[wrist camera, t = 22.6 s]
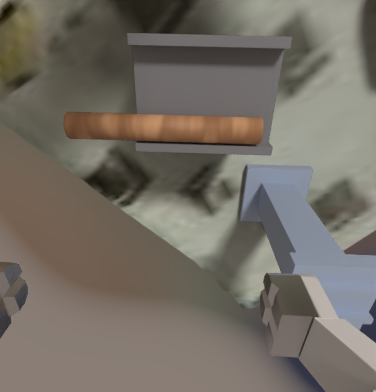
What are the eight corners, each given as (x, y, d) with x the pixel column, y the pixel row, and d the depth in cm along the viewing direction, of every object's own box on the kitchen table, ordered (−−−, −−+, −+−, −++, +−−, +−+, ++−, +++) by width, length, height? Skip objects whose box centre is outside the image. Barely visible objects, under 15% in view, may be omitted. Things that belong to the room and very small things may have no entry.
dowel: (67, 106, 30) (77, 124, 33) (61, 126, 29) (71, 143, 31) (261, 111, 30) (255, 130, 32) (264, 132, 28) (257, 149, 31)
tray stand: (156, 119, 47) (135, 151, 31) (153, 40, 41) (126, 32, 26) (246, 121, 47) (271, 155, 31) (256, 42, 41) (292, 36, 25)
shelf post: (239, 217, 56) (270, 338, 32) (246, 164, 50) (290, 264, 27) (296, 219, 56) (369, 342, 32) (310, 166, 50) (411, 268, 26)
